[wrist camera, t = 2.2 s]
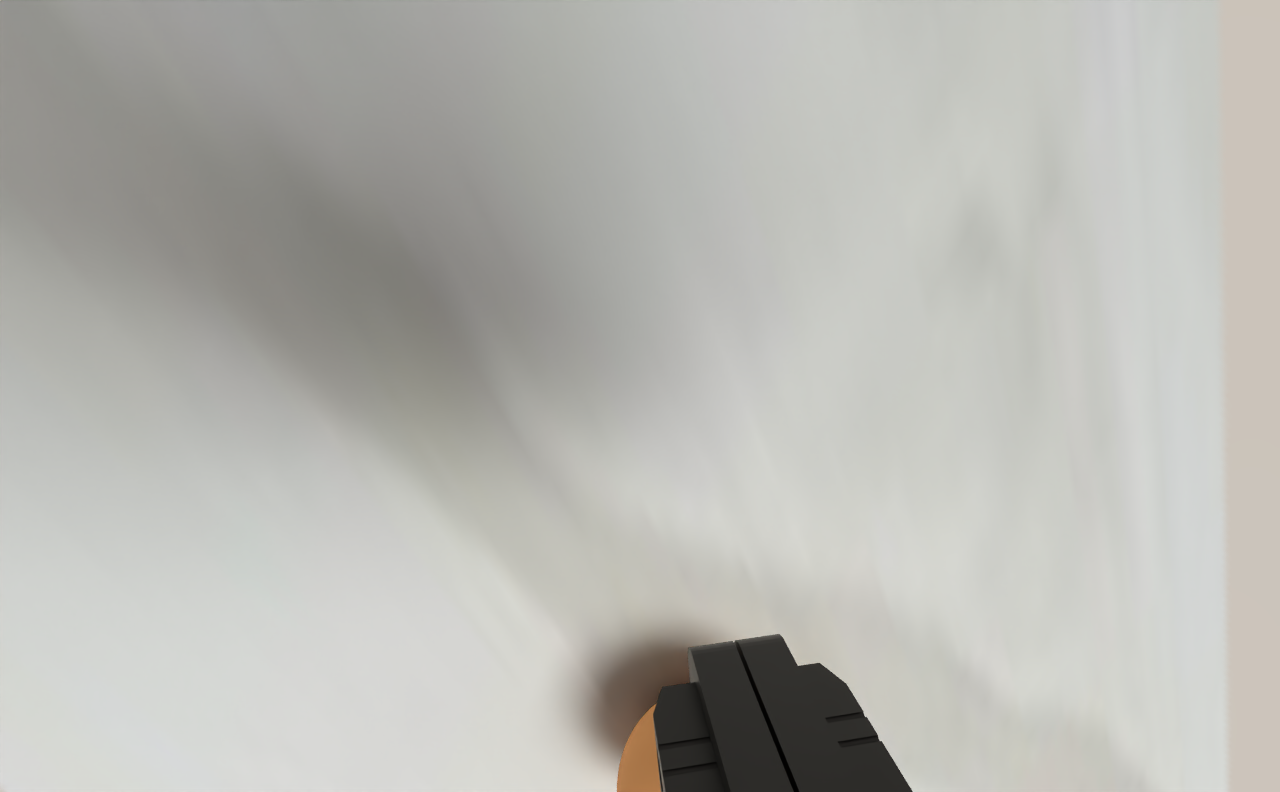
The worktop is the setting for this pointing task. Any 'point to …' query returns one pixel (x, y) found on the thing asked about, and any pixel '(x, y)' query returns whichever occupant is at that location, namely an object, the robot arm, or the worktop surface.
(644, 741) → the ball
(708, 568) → the worktop surface
